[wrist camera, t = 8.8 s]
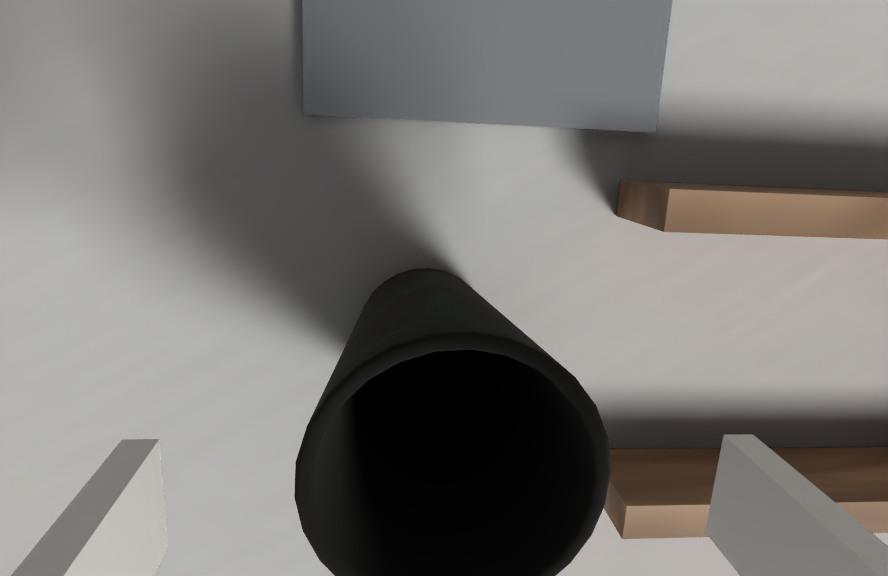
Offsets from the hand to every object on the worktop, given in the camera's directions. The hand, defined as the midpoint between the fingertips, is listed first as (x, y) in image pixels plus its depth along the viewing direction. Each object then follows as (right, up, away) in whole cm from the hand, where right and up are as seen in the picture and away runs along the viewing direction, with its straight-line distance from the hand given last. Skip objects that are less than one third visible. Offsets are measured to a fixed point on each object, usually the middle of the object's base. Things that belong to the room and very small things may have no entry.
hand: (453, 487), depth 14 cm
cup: (-1, +3, +12) cm, 13 cm away
